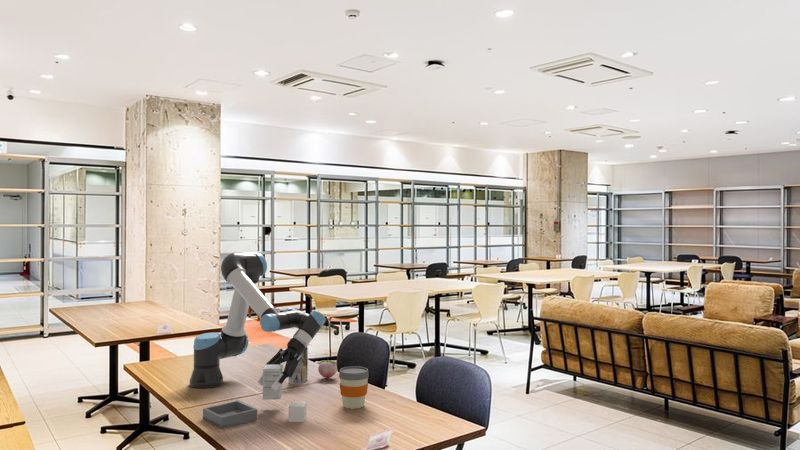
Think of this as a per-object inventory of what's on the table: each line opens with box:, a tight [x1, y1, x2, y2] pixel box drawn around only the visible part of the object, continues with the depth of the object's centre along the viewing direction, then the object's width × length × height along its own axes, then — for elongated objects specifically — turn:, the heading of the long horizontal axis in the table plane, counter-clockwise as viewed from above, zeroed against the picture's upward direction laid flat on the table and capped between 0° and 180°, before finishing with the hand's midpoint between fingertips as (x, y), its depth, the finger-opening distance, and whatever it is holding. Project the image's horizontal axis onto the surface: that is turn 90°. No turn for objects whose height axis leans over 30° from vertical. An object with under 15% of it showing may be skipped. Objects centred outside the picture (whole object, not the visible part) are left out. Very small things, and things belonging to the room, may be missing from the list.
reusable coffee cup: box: [338, 365, 370, 410], centre depth 241 cm, size 12×13×15 cm
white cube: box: [288, 401, 307, 423], centre depth 223 cm, size 6×6×6 cm
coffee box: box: [288, 346, 309, 385], centre depth 276 cm, size 9×6×16 cm
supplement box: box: [262, 364, 284, 401], centre depth 236 cm, size 7×7×13 cm
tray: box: [202, 400, 258, 429], centre depth 223 cm, size 15×15×4 cm
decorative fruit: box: [318, 358, 338, 380], centre depth 283 cm, size 9×8×10 cm
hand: (266, 386), depth 234 cm, fingers closed on supplement box, 10 cm apart
